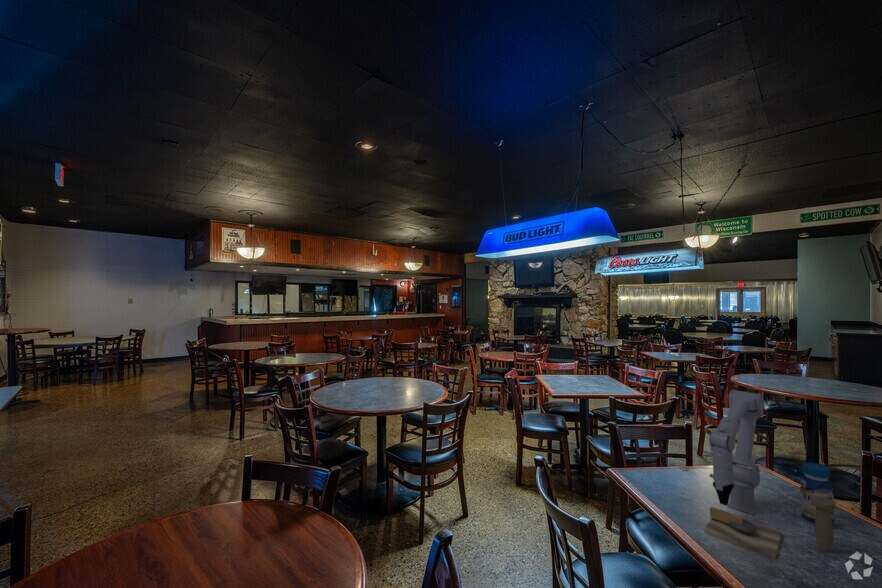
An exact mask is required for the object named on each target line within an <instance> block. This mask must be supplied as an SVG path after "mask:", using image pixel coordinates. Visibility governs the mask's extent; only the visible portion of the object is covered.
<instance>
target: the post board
mask: <svg viewBox="0 0 882 588" xmlns="http://www.w3.org/2000/svg"><path fill="white" fill-rule="evenodd" d="M743 520H746V521H749V522H751V523H752V524H754V525H755V526H756V533H745V532H742V531H739V530H737V529H735V528H733V527H732V526H731V525H730V523H727V522H724V521H721V520H718V519H715V518H712V517H710V519H709V521H708V523H707V525H706V526H705V528H704V534H706V535H708V536H711V537H714V538H717V539H719V540H722V541H725V542H728V543H730V544H733V545H736V546H738V547H741V548H743V549H745V550H749V551H751V552H754V553H757V554H759V555H762V556H765V557H768V558H771V559H773V560H776V561H777V556H778V553H779V548H780V544H781V539H782V535H783V532H782V530H779V529H776V528H774V527H770V526H767V525H763V524H761V523H758V522H755V521H751V520H749V519H747V518H746V519H745V518H743Z"/></svg>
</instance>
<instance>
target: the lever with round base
mask: <svg viewBox="0 0 882 588" xmlns="http://www.w3.org/2000/svg"><path fill="white" fill-rule="evenodd" d="M709 517H710V518H715V519H718V520H721V521H724V522H727V523H730V525H731V526H732V527H733V528H735V529H737V530H739V531H742V532H745V533H756V526H755V525H754V524H752V523H751V522H749V521H750V520H749V521H746V520H747V519H746V520H743V519H744V517H743V516H740V515H738V514H734V513H732V512H729V511H725V510H724V509H719V508H717V507H713V506H710V507H709Z"/></svg>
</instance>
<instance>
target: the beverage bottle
mask: <svg viewBox="0 0 882 588" xmlns="http://www.w3.org/2000/svg"><path fill="white" fill-rule="evenodd" d="M802 473H803V474H804V475H802V476H801V479H800V483H801V485H800V488H799V490H800V503H801V517H802V519H803V520H804V521H805V522H806V523H808V524H810V525H813V526H814V527H815V521H816V507H815V506H814V505H812V504H811V498H812V497H823V498H826V499H829V500H832V501H834V500H835V496H834V494H833V491H834V487H833V486H832V483H831V482H830V481H829V480H828V479H830V469H829V467H827V466H825V465H823V464H819V463H815V462H810V461H809V462H808V461H807V462H806V461H804V462H803V463H802ZM831 521H832V529H834V527H835V510H831Z"/></svg>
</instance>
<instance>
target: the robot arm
mask: <svg viewBox="0 0 882 588" xmlns="http://www.w3.org/2000/svg"><path fill="white" fill-rule="evenodd" d="M728 402H729V404H730V405H729V406H730V407H729V410H728V413H727V416H723V417H722V418H721V419H720V421H719V424H718V425H717V427H716V429H715V430H713V431H711V432H710V433H709V437H708V438H709V439H708V441H709V445H710V450H711V452H712V472H713V473H710V474H709V478H711V479H713V482H712V486H713V488H714V489H715V491H716V495H717V497H718V502H719V504H720V505H723V506H727V507H728V508H731V509H733V510H737V511H741V512H744V513H747V514H750V515H753V516H755V515H756V512H757V510H758V507H759V505H758V503H756V502H755V488H758V487H759V485H760V481H761V476H760V467H759V466H758V465H757V464H756V463H755V462H754V461H753V460H752V456H753V449H754V448H753V447H754V440H755V433H756V425H757V420H758V418H760V417H763V414H764V409H765V400H764V396H763V395H762V394H761V393H755V392H749V391H748V392H747V391H741V390H736V389H730V391H729V393H728ZM737 434H738V435H737ZM736 436H737V437H736ZM735 446H736V447H735ZM734 450H735V454H734V455H733V451H734Z"/></svg>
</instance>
